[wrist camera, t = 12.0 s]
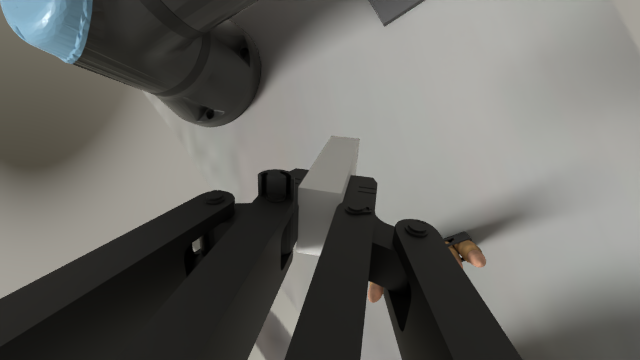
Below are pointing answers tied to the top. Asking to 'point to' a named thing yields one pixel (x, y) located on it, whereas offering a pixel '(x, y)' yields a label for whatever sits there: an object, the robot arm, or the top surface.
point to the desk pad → (392, 8)
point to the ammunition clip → (457, 246)
